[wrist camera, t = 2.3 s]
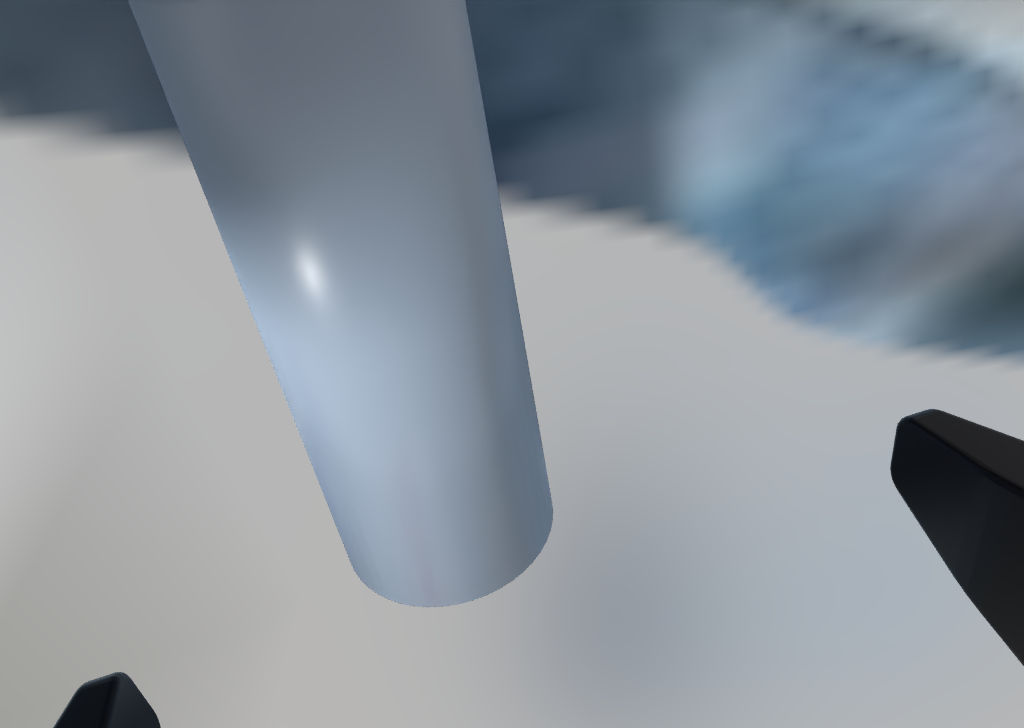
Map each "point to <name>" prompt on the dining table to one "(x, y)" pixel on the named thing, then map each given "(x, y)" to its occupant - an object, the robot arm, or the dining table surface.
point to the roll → (372, 270)
